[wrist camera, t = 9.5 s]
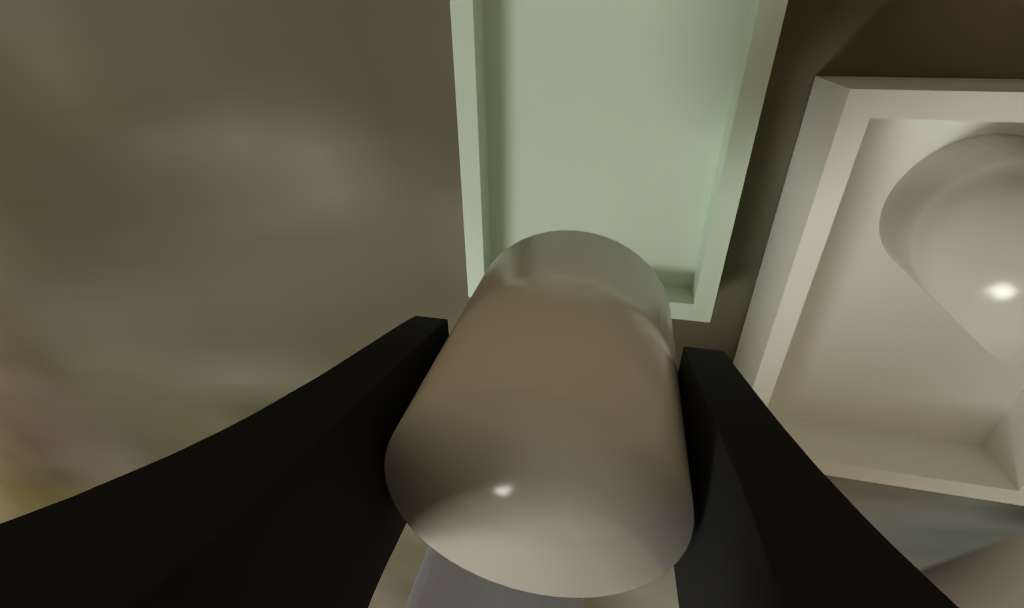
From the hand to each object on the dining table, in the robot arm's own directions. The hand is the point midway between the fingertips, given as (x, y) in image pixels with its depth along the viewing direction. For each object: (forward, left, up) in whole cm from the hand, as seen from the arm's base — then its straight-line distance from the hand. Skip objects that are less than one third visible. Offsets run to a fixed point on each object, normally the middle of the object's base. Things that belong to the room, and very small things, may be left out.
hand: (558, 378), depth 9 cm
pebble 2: (+1, -10, -8) cm, 13 cm away
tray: (+3, 0, -9) cm, 9 cm away
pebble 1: (0, 0, -2) cm, 2 cm away
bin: (-2, -10, -9) cm, 13 cm away
